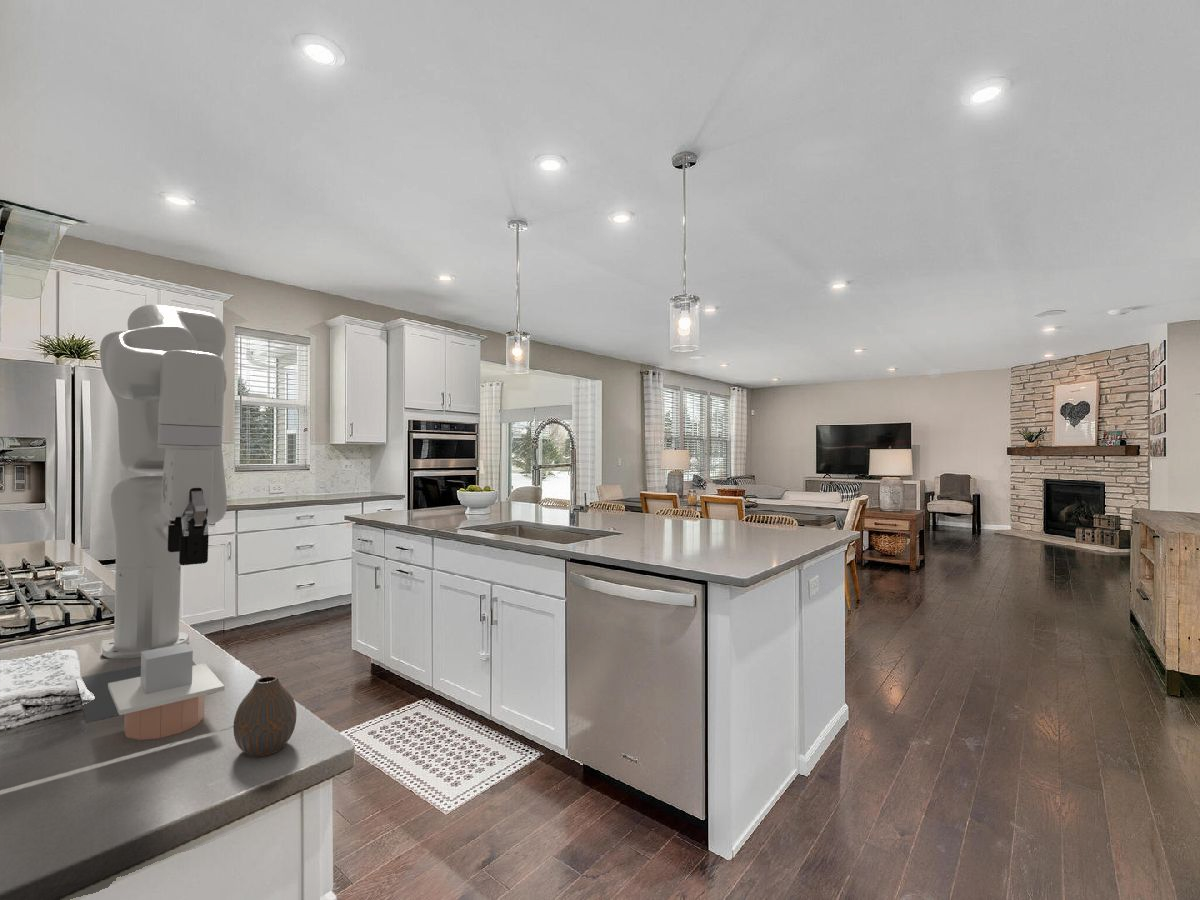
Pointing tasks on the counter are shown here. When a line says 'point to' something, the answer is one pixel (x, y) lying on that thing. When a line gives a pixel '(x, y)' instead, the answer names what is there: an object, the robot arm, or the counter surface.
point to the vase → (265, 718)
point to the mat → (105, 692)
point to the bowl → (164, 719)
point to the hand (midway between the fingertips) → (186, 557)
